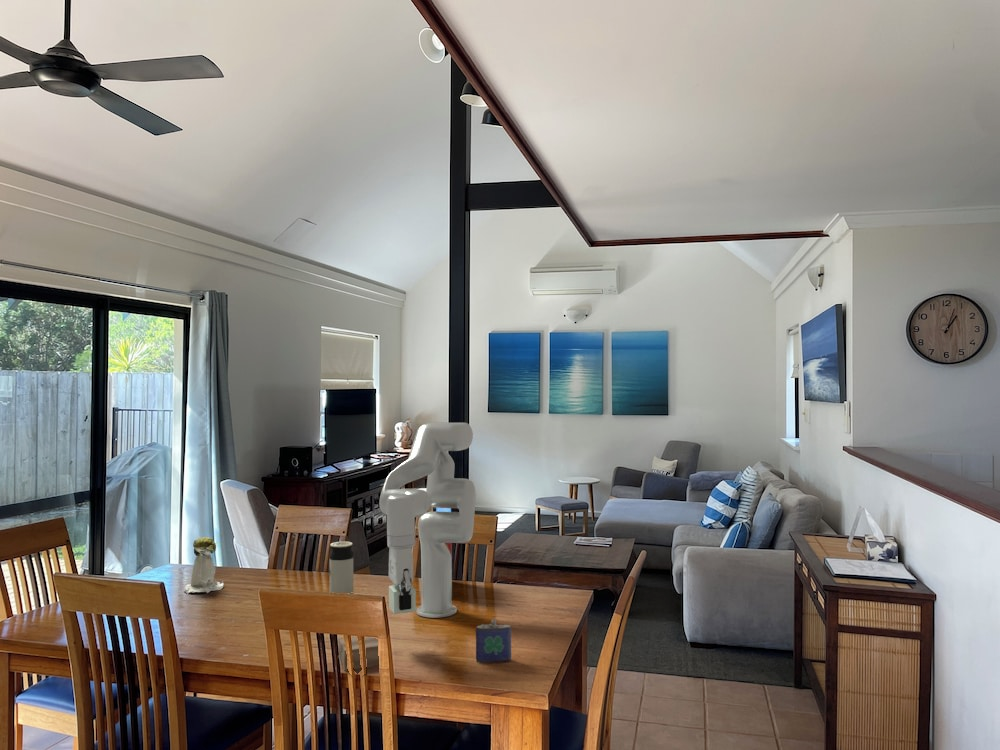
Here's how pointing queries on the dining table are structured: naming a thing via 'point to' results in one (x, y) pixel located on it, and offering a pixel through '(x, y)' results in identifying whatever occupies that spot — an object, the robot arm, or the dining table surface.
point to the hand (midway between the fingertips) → (402, 605)
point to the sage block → (394, 599)
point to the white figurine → (203, 567)
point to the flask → (493, 643)
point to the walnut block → (370, 652)
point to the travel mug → (341, 567)
